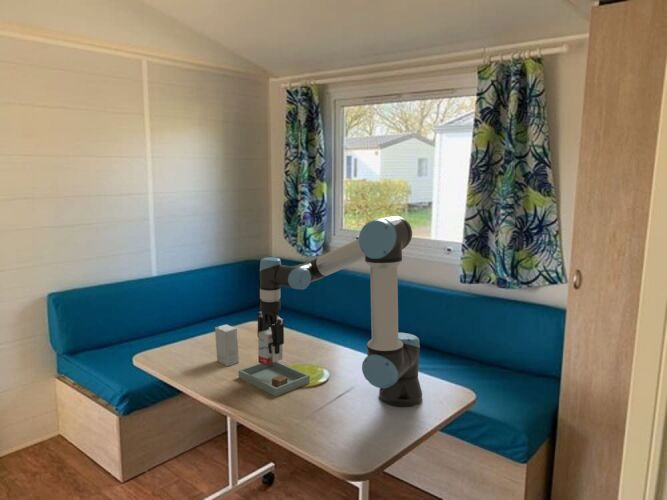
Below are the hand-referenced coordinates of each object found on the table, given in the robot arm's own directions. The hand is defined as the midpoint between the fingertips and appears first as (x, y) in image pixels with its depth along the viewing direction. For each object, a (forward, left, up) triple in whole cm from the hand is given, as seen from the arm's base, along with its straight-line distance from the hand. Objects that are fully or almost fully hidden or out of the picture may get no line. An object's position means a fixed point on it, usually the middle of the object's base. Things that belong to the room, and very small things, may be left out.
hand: (270, 358), depth 189 cm
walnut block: (-10, +4, -7) cm, 13 cm away
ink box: (0, 0, -1) cm, 1 cm away
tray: (-3, +1, -8) cm, 9 cm away
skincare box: (+26, +2, -9) cm, 27 cm away
